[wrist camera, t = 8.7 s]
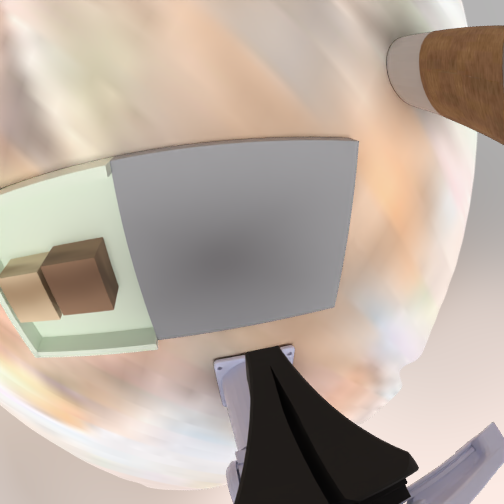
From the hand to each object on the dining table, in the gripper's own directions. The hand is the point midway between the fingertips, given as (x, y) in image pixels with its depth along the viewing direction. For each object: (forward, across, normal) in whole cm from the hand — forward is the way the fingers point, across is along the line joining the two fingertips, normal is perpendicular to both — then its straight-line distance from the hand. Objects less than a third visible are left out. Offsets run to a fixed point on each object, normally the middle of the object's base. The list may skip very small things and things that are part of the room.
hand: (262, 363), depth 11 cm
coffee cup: (+10, -15, -13) cm, 22 cm away
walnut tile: (+10, +10, 0) cm, 14 cm away
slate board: (+10, -1, 0) cm, 10 cm away
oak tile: (+10, +14, 0) cm, 17 cm away
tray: (+10, +12, 0) cm, 16 cm away
